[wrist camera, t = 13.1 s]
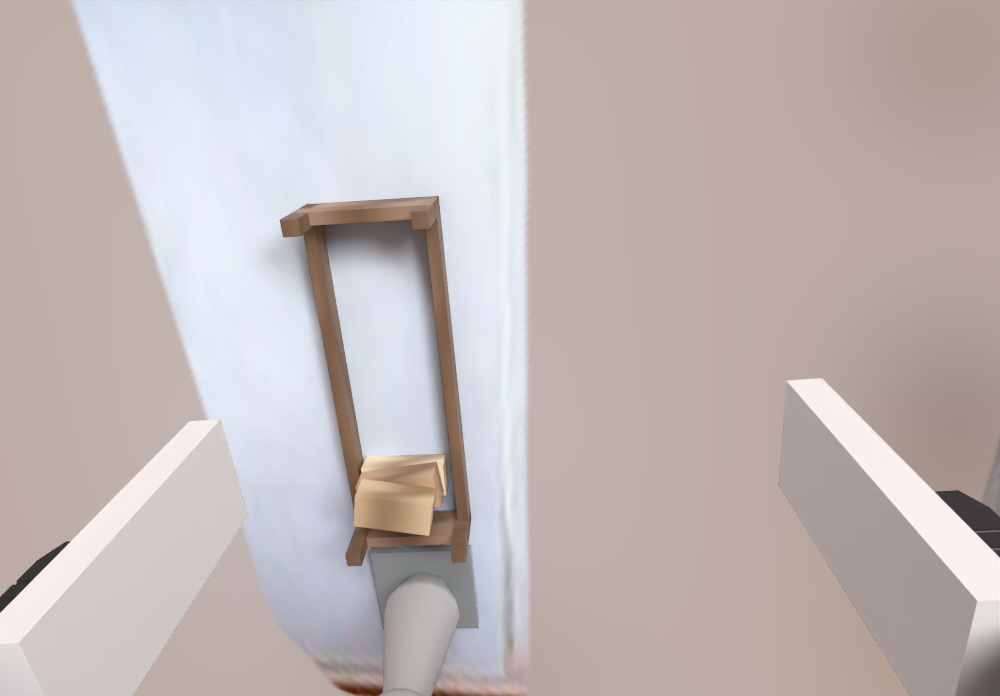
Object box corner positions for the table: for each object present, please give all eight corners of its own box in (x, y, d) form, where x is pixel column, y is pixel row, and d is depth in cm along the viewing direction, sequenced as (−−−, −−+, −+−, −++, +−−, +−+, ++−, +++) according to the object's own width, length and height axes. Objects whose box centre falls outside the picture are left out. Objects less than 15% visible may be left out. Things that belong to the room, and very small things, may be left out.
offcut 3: (436, 488, 45) (432, 505, 43) (433, 517, 46) (429, 535, 44) (362, 478, 45) (354, 495, 43) (360, 508, 46) (353, 526, 44)
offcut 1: (446, 451, 49) (442, 466, 47) (449, 479, 50) (446, 495, 48) (367, 454, 49) (360, 469, 47) (371, 482, 50) (365, 497, 48)
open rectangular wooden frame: (438, 196, 41) (427, 210, 36) (471, 518, 51) (465, 562, 46) (306, 204, 42) (279, 219, 37) (363, 522, 51) (347, 566, 46)
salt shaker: (474, 581, 52) (459, 731, 40) (443, 628, 54) (420, 784, 42) (408, 552, 51) (373, 696, 39) (379, 601, 53) (337, 753, 41)
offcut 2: (436, 461, 47) (433, 477, 45) (443, 490, 48) (440, 507, 46) (361, 472, 47) (355, 488, 45) (370, 500, 48) (364, 517, 46)
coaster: (470, 545, 52) (470, 550, 51) (478, 622, 55) (478, 627, 54) (371, 548, 52) (369, 553, 51) (384, 624, 55) (383, 630, 54)
